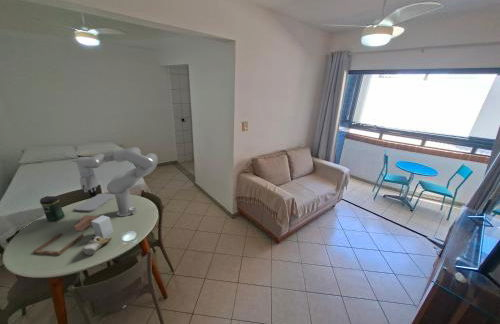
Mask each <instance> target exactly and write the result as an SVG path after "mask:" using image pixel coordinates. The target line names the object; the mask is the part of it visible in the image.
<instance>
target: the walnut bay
mask: <svg viewBox="0 0 500 324" xmlns="http://www.w3.org/2000/svg"><path fill="white" fill-rule="evenodd" d="M62 236H63V233H62V232H59V233H58V234H56V235H55V236H54V237H52V238H50V239H49V240H47V241H46V242H45V243H43V244H41V245H40V246H39V247H38V248H36V249H35V250H32V253H33V254H37V255H48V256H49V255H52V256H61V255H62V254H64V253H65V252H66V251H67V250H69V249H70V248H71V247H72V246H74V245H75V244H76V243H77V242H78V241H80V240H81V239H83V238H84V236H85V234H83V233H82V234H80V235H79V236H78V237H76V238H75V239H74V240H72V241H71V242H69V243H68V244H67V245H66V246H65V247H63V248H62V249H61V250H59V251H55V250H54V251H53V250H43V249H45V247H47V246H49V245H50V244H51V243H53V242H54V241H56V240H57V239H58V238H60V237H62Z"/></svg>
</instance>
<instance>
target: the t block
mask: <svg viewBox="0 0 500 324" xmlns="http://www.w3.org/2000/svg"><path fill="white" fill-rule="evenodd" d="M98 217H99V216H98V215H88V214H85V215H83V216H82V217H80V221H79V222H78V223H76V224H74V225H73V226H74V230H75V231H76V232H81V231H83V230H84V229H86V228H87V227H88V226H90V225H92V223H91V221H93V220H95V219H96V218H98Z"/></svg>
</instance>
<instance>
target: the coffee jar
mask: <svg viewBox="0 0 500 324" xmlns="http://www.w3.org/2000/svg"><path fill="white" fill-rule="evenodd" d="M39 203H40V205H41V207H42V209H43V211H44V214H45V217H46V220H47V221H48V222H59V221H60V220H63V219H64V218H65V212H64V211H63V208H62V206H61V204H60V199H59V197H58V196H53V195H46V196H44V197H41V198H40V200H39Z"/></svg>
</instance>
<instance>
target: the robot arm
mask: <svg viewBox="0 0 500 324" xmlns="http://www.w3.org/2000/svg"><path fill="white" fill-rule="evenodd" d="M158 160H159V158H158V156H157V154H156V153H152V152H150V153H148V154H146V155H143V154H142V151H141V149H140V148H139V147H136V146H135V147H134V146H132V147H128V148H127V147H126V148H124V149H119V150H113V151H111V150H110V151H107V152H106V151H105V152H102V153H101V152H100V153H97V154H95V155H94V156H92V157H89V156H80V157H77V158H76V159H75V162H76V166H77V169H78V172H79V176H80V177H79V182H80V183H79V184H80V188H81V190H82V191H83V192H84V193H89V196H90V197H91V198H92V197H95V196H97V195H98V194H97V192H96V191H97V187H98V186H99V181H98V178H97V176H96V174H95V173H94V171H95V170H94V169H98V168H100V167H101V166H102V165H103V164H105V163H109V162H113V161H114V162H115V161H116V162H117V163H122V162H126V161H127V162H128V163H131V164H133V165H135V166H136V167H135V168H132V169H130V170H128V171H127V172H125V174H124V175H123V174H118V175H116V176H114V177H113V178H112V179H111V181H109V182H108V184H107V187H106V190H107V191H108V193H109V194H114V198H115V202H116V205H117V206H116V207H117V209H118V211H117V212H116V215H117V216H118V217H128V216H130V215H132V214H133V213H136V212H137V211H138V210H137V209H138V208H137V207H135V206H134V205H133V203H132V202H133V201H132V198H131V193H130V188H132V187H133V186H135V185H136V184H137V183H138V182H139V180H140V179H142V178H143V177H146V176H147V175H149V174H151V173H152V172H154V170H155V169H156V168H157V166H158V163H159V161H158Z"/></svg>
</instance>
